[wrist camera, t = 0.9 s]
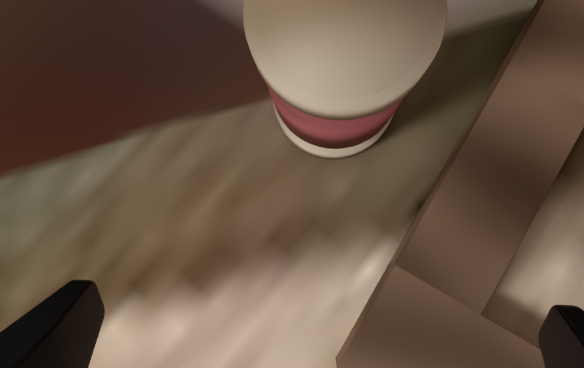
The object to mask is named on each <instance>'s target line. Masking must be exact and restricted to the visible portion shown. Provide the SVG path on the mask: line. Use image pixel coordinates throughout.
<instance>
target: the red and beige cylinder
mask: <svg viewBox="0 0 584 368" xmlns="http://www.w3.org/2000/svg"><path fill="white" fill-rule="evenodd" d="M243 18H244V29H245V34H246V39H247V42H248V45H249V48H250V51H251V53H252V56H253V58H254V60H255V63H256V65H257V67H258V70H259V72H260V74H261V76H262V77H263V79H264V80H265V82H266V83H267V86H268V88H269V91H270V94H271V96H272V99H273V104H274V110H275V113H276V116H277V119H278V121H279V124H280V126H281V128H282V130H283V131H284V133H285V135H286V136H287V137H288V138H289V140H290V141H291V142H292V143H293V144H294V145H296V146H297V147H298V148H299V149H301V150H302V151H304V152H306V153H308V154H310V155H313V156H316V157H319V158H324V159H343V158H348V157H352V156H355V155H357V154H359V153H361V152H363V151H365V150H366V149H368V148H369V147H371V146H372V145H373V144H374V143H375V142H376V141H377V140H378V139H379V138H380V137H381V135H382V134H383V132H384V131H385V129H386V128H387V127H388V125H389V123H390V121H391V119H392V117H393V114H394V112H395V110H396V109H397V107H398V106H399V104H400V103H401V101H402V100H403V98H404V97H405V96H406V95H407V94H408V93H409V92H410V91H411V90H412V89H413V88H414V87H415V85H416V84H417V83H418V81H419V80H420V79H421V77H422V76H423V74H424V73H425V71H426V70H427V68H428V67H429V65H430V64H431V62H432V61H433V59H434V58H435V56H436V54H437V52H438V50H439V48H440V45H441V42H442V39H443V36H444V32H445V27H446V21H447V2H446V0H244V10H243Z"/></svg>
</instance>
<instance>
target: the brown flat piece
mask: <svg viewBox="0 0 584 368" xmlns="http://www.w3.org/2000/svg"><path fill="white" fill-rule="evenodd" d="M583 128H584V0H538V1H537V3H536V4H535V6H534V8H533V10H532V12H531V13H530V15H529V17H528V19H527V20H526V22H525V24H524V26H523V27H522V29H521V31H520V33H519V35H518V36H517V38H516V40H515V42H514V43H513V45H512V47H511V49H510V51H509V52H508V54H507V56H506V58H505V59H504V61H503V63H502V65H501V66H500V68H499V70H498V72H497V74H496V75H495V77H494V79H493V81H492V82H491V84H490V86H489V88H488V89H487V91H486V93H485V95H484V97H483V98H482V100H481V102H480V104H479V105H478V107H477V109H476V111H475V113H474V114H473V116H472V118H471V120H470V121H469V123H468V125H467V127H466V128H465V130H464V132H463V134H462V136H461V137H460V139H459V141H458V143H457V144H456V146H455V148H454V150H453V151H452V153H451V155H450V157H449V159H448V160H447V162H446V164H445V166H444V167H443V169H442V171H441V173H440V174H439V176H438V178H437V180H436V182H435V183H434V185H433V187H432V189H431V190H430V192H429V194H428V196H427V198H426V199H425V201H424V203H423V205H422V206H421V208H420V210H419V212H418V213H417V215H416V217H415V219H414V221H413V222H412V224H411V226H410V228H409V229H408V231H407V233H406V235H405V236H404V238H403V240H402V242H401V244H400V245H399V247H398V249H397V251H396V252H395V254H394V256H393V258H392V260H391V261H390V263H389V265H388V267H387V268H386V270H385V272H384V274H383V275H382V277H381V279H380V281H379V283H378V284H377V286H376V288H375V290H374V291H373V293H372V295H371V297H370V298H369V300H368V302H367V304H366V306H365V307H364V309H363V311H362V313H361V314H360V316H359V318H358V320H357V322H356V323H355V325H354V327H353V329H352V330H351V332H350V334H349V336H348V337H347V339H346V341H345V343H344V345H343V346H342V348H341V350H340V352H339V353H338V355H337V357H336V365H337V368H545V365H544V361H543V357H542V353H541V350H540V349H539V348H537V347H535V346H534V345H532V344H530V343H528V342H527V341H525V340H523V339H521V338H520V337H518V336H516V335H515V334H513V333H511V332H509V331H508V330H506V329H504V328H503V327H501V326H499V325H497V324H496V323H494V322H492V321H491V320H489V319H487V318H485V317H484V316H482V315H481V313H482V311H483V310H484V308H485V306H486V304H487V302H488V300H489V299H490V297H491V295H492V293H493V291H494V290H495V288H496V286H497V284H498V282H499V280H500V279H501V277H502V275H503V273H504V271H505V270H506V268H507V266H508V264H509V262H510V260H511V259H512V257H513V255H514V253H515V251H516V249H517V248H518V246H519V244H520V242H521V240H522V239H523V237H524V235H525V233H526V231H527V229H528V228H529V226H530V224H531V222H532V220H533V219H534V217H535V215H536V213H537V211H538V209H539V208H540V206H541V204H542V202H543V200H544V199H545V197H546V195H547V193H548V191H549V189H550V188H551V186H552V184H553V182H554V180H555V179H556V177H557V175H558V173H559V171H560V169H561V168H562V166H563V164H564V162H565V160H566V158H567V157H568V155H569V153H570V151H571V149H572V148H573V146H574V144H575V142H576V140H577V138H578V137H579V135H580V133H581V131H582V129H583Z"/></svg>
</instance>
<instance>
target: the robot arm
mask: <svg viewBox="0 0 584 368" xmlns="http://www.w3.org/2000/svg"><path fill="white" fill-rule="evenodd" d="M104 314H105V309H104V304H103V302H102V299H101V296H100V294H99V291H98V289H97V286H96V284H95V283H94V282H93V281H91V280H72V281H70V282H68V283H67V284H66V285H64V286H63V287H61V288H60V289H59V290H57V291H56V292H55V293H53V294H52V295H51V296H49V297H48V298H46V299H45V300H44V301H42V302H41V303H40V304H38V305H37V306H36V307H34V308H33V309H31V310H30V311H29V312H27V313H26V314H25V315H23V316H22V317H21V318H19V319H18V320H16V321H15V322H14V323H12V324H11V325H10V326H8V327H7V328H6V329H4V330H3V331H1V332H0V368H88V366H89V363H90V360H91V357H92V354H93V351H94V347H95V344H96V341H97V338H98V335H99V332H100V329H101V325H102V322H103V319H104ZM539 345H540V349H541V353H542V357H543V361H544V365H545V368H584V311H583V310H582V309H581V308H579V307H577V306H571V305H554V306H553V307H551V309H550V311H549V313H548V315H547V317H546V319H545V321H544V323H543V325H542V327H541V329H540V332H539Z"/></svg>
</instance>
